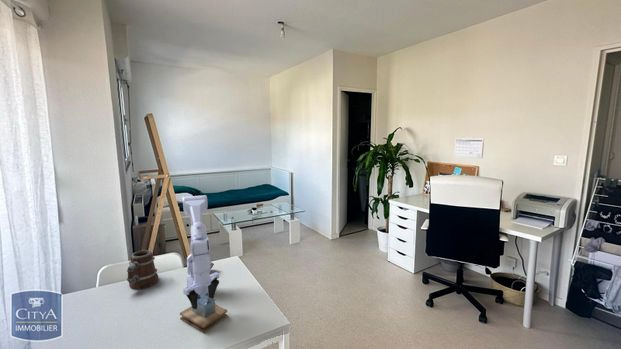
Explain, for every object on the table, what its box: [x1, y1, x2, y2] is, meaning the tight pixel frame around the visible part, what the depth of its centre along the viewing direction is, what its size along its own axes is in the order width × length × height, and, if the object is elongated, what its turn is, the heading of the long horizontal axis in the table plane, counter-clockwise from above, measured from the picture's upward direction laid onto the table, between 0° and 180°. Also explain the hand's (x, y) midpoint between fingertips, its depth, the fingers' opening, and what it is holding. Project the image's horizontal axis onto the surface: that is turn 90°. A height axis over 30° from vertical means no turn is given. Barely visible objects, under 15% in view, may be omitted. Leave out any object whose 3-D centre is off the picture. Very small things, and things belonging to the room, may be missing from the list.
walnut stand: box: [179, 303, 229, 334], centre depth 108 cm, size 14×11×3 cm
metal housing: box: [192, 293, 216, 318], centre depth 108 cm, size 5×8×6 cm, turn 58°
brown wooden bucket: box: [126, 249, 159, 290], centre depth 131 cm, size 16×12×15 cm
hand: (203, 302), depth 108 cm, fingers open, 7 cm apart
